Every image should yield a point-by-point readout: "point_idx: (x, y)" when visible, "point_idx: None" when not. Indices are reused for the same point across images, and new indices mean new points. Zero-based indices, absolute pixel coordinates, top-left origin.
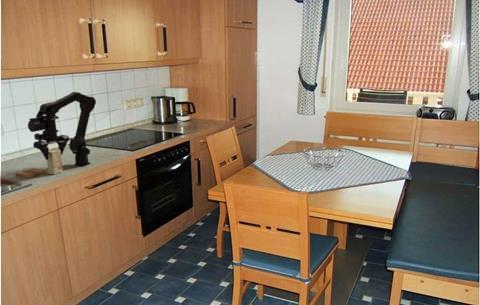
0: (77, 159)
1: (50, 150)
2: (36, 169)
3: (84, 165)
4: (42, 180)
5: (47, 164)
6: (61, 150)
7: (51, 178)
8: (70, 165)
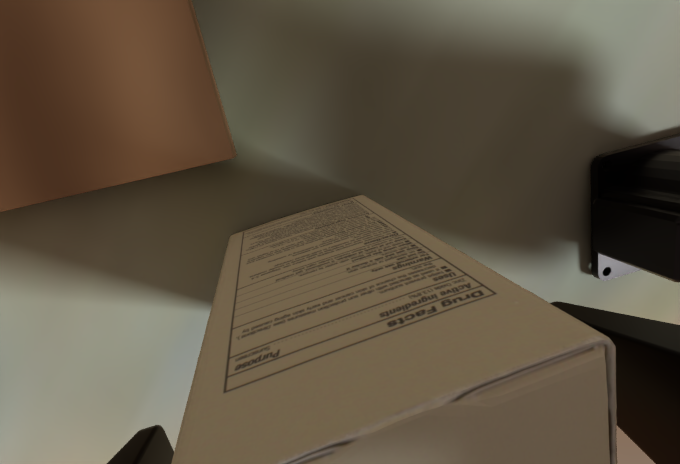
0: (660, 259)
1: (394, 451)
2: (142, 2)
3: (618, 274)
4: (70, 406)
5: (218, 288)
6: (649, 434)
7: (178, 407)
8: (571, 123)
